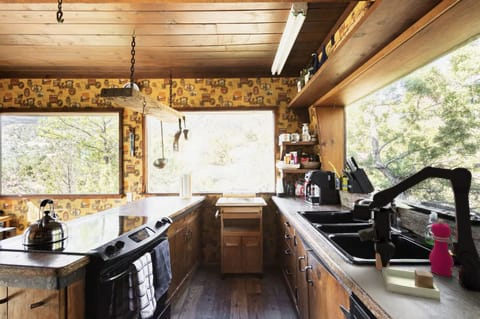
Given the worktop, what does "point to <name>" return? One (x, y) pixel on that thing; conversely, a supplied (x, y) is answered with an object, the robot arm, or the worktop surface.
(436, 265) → the pepper mill
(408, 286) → the tray
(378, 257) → the peach block
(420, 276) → the walnut block
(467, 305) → the worktop surface
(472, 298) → the worktop surface
